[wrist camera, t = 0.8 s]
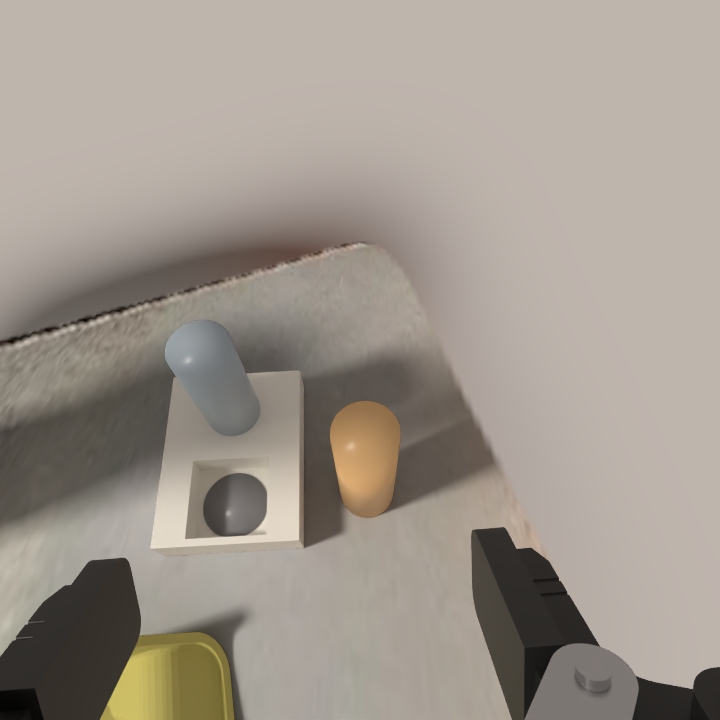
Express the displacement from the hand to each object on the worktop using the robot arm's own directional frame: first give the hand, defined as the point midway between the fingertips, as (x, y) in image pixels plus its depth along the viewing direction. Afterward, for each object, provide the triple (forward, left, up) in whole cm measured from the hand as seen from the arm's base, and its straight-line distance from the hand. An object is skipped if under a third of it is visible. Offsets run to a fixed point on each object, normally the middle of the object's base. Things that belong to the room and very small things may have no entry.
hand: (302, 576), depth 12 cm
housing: (-12, +8, -27) cm, 30 cm away
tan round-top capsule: (-1, +9, -27) cm, 28 cm away
